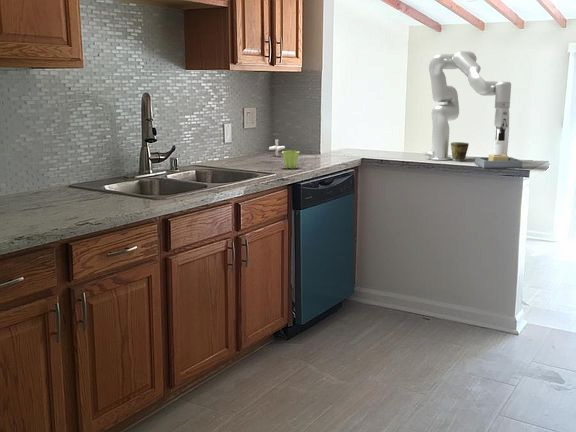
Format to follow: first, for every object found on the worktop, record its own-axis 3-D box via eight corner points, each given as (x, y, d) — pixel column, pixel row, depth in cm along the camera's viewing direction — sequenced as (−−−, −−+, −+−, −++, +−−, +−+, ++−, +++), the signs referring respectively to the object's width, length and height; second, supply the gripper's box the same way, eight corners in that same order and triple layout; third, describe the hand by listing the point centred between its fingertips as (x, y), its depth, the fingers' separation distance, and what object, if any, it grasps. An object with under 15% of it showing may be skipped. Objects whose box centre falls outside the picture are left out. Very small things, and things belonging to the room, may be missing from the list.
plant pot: (278, 167, 332) (278, 151, 330) (290, 166, 338) (290, 150, 336) (290, 169, 325) (290, 153, 323) (303, 167, 331) (303, 151, 330)
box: (483, 168, 328) (484, 157, 327) (474, 164, 344) (475, 153, 342) (521, 168, 328) (522, 157, 327) (510, 164, 344) (511, 153, 342)
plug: (497, 144, 331) (498, 127, 329) (495, 143, 335) (496, 127, 333) (504, 144, 331) (505, 127, 329) (501, 143, 335) (503, 127, 333)
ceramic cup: (452, 158, 367) (453, 141, 365) (469, 160, 362) (470, 142, 360) (446, 161, 356) (447, 144, 354) (463, 162, 351) (464, 144, 349)
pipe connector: (266, 155, 383) (266, 139, 380) (280, 154, 387) (280, 138, 384) (272, 157, 374) (272, 140, 372) (287, 156, 378) (287, 140, 376)
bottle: (497, 163, 349) (501, 109, 342) (489, 161, 356) (493, 108, 350) (509, 162, 351) (513, 108, 344) (501, 160, 358) (505, 108, 352)
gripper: (515, 106, 321) (512, 141, 325) (503, 104, 337) (501, 138, 341) (500, 106, 321) (498, 141, 324) (490, 104, 337) (488, 138, 341)
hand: (499, 139), depth 333 cm, fingers closed on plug, 3 cm apart
